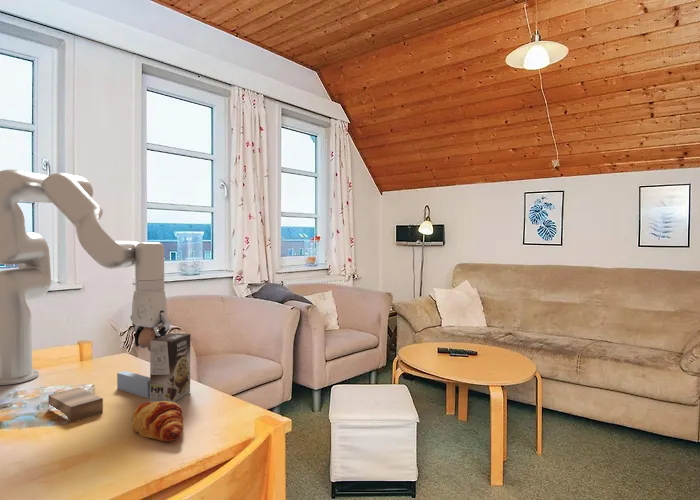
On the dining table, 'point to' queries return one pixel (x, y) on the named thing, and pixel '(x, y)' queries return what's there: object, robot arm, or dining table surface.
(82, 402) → the slab
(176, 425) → the croissant
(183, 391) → the coffee box
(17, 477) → the dining table surface
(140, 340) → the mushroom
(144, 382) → the rail
